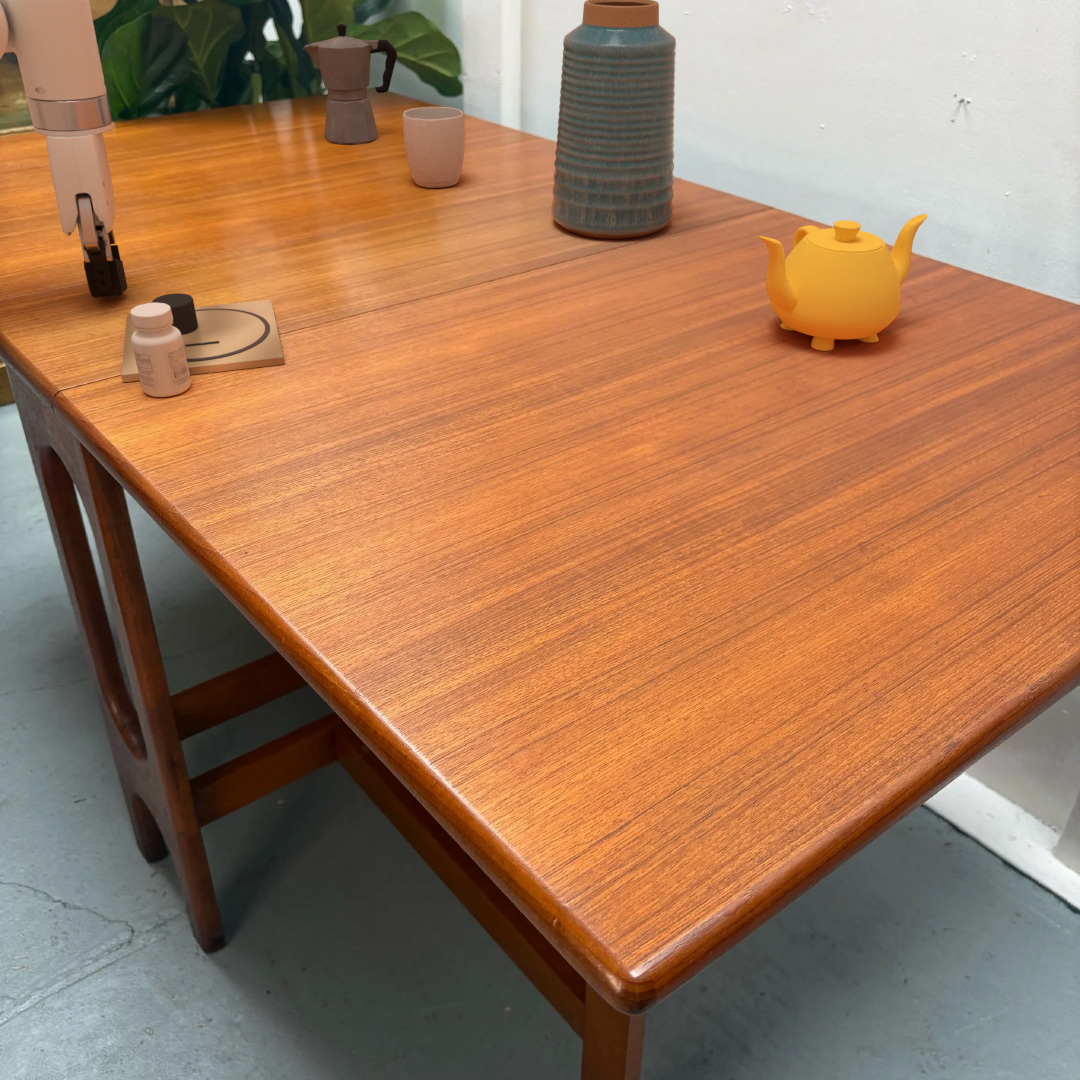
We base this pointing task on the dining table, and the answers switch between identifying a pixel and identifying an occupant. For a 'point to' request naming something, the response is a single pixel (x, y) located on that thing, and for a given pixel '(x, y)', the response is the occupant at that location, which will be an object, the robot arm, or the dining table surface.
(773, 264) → the teapot
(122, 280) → the dot
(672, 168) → the vase
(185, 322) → the dot
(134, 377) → the board
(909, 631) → the dining table surface
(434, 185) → the mug
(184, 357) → the pill bottle
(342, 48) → the coffeepot
